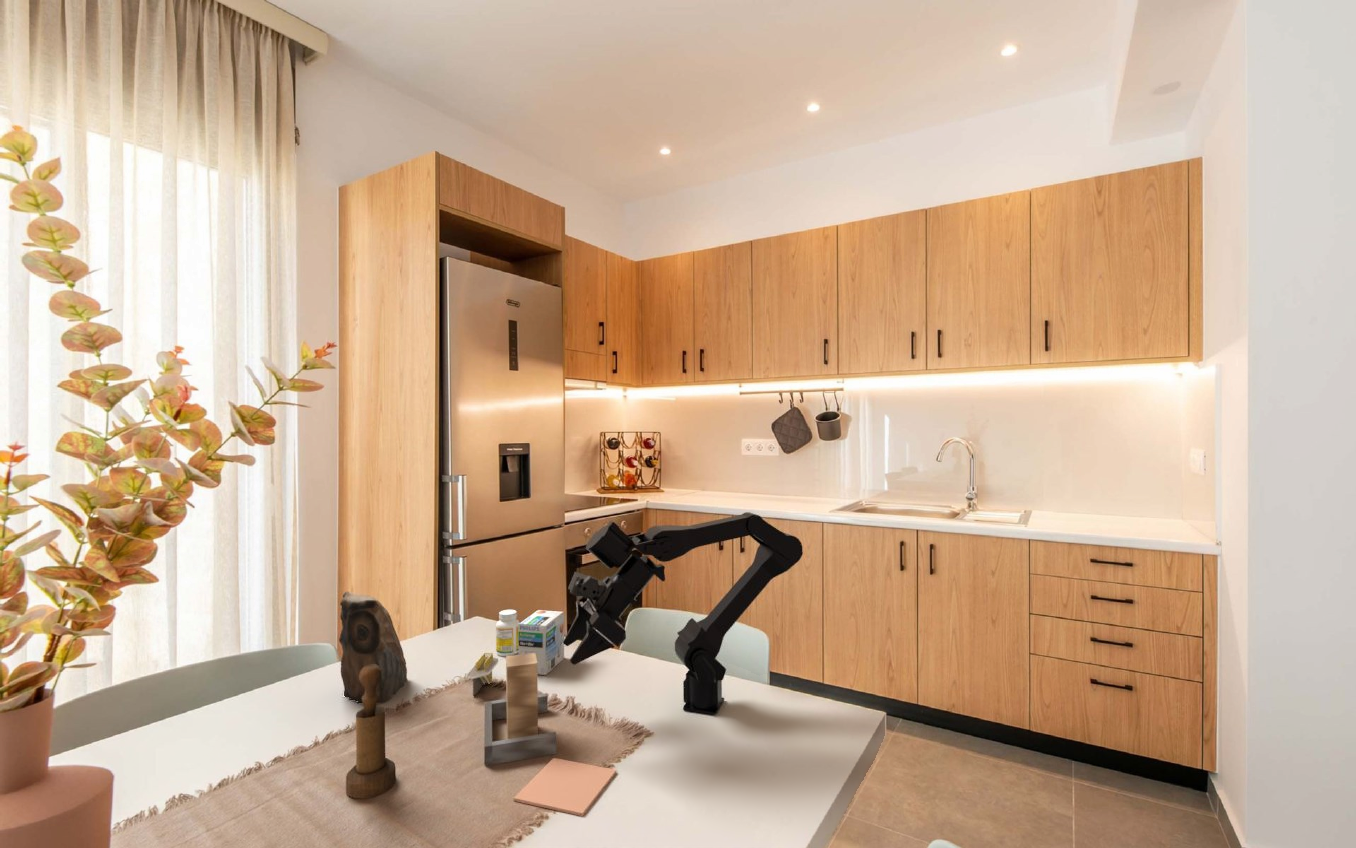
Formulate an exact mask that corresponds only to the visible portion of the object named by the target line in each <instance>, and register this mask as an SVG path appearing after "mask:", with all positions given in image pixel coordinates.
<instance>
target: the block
mask: <svg viewBox="0 0 1356 848" xmlns="http://www.w3.org/2000/svg"><path fill="white" fill-rule="evenodd" d="M505 657H506V658H505V659H506V660H505V661H506V663H505V664H506V665H505V669H506V670H505V671H506V672H505V673H506V675H505V677H506V682H505V683H506V684H505V686H506V693H505V694H506V698H505V699H507V718H506V736H507V737H506V740H507V739H513V738H520V737H526V736H532V735H538V734H539V713H538V694H539V692H538V691H539V689H538V688H539V687H538V686H539V684H538V683H539V682H538V674H537V659H536V655H535V653H530V654H521V655H519V654H515V655H512V656H505Z"/></svg>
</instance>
